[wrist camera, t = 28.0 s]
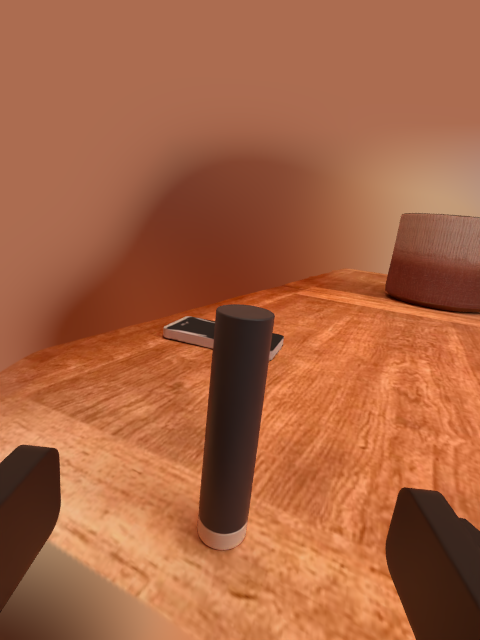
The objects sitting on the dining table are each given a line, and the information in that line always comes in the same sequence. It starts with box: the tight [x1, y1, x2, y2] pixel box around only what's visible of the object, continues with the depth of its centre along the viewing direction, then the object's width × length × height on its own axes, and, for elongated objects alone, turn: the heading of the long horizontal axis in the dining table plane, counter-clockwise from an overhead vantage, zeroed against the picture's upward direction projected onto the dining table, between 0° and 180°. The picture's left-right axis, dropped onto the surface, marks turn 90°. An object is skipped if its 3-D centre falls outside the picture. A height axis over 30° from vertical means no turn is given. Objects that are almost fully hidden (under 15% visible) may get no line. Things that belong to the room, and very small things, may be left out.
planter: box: [385, 213, 480, 312], centre depth 95 cm, size 25×25×22 cm
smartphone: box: [163, 317, 284, 360], centre depth 49 cm, size 8×1×15 cm
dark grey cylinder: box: [197, 305, 275, 550], centre depth 18 cm, size 3×3×12 cm
